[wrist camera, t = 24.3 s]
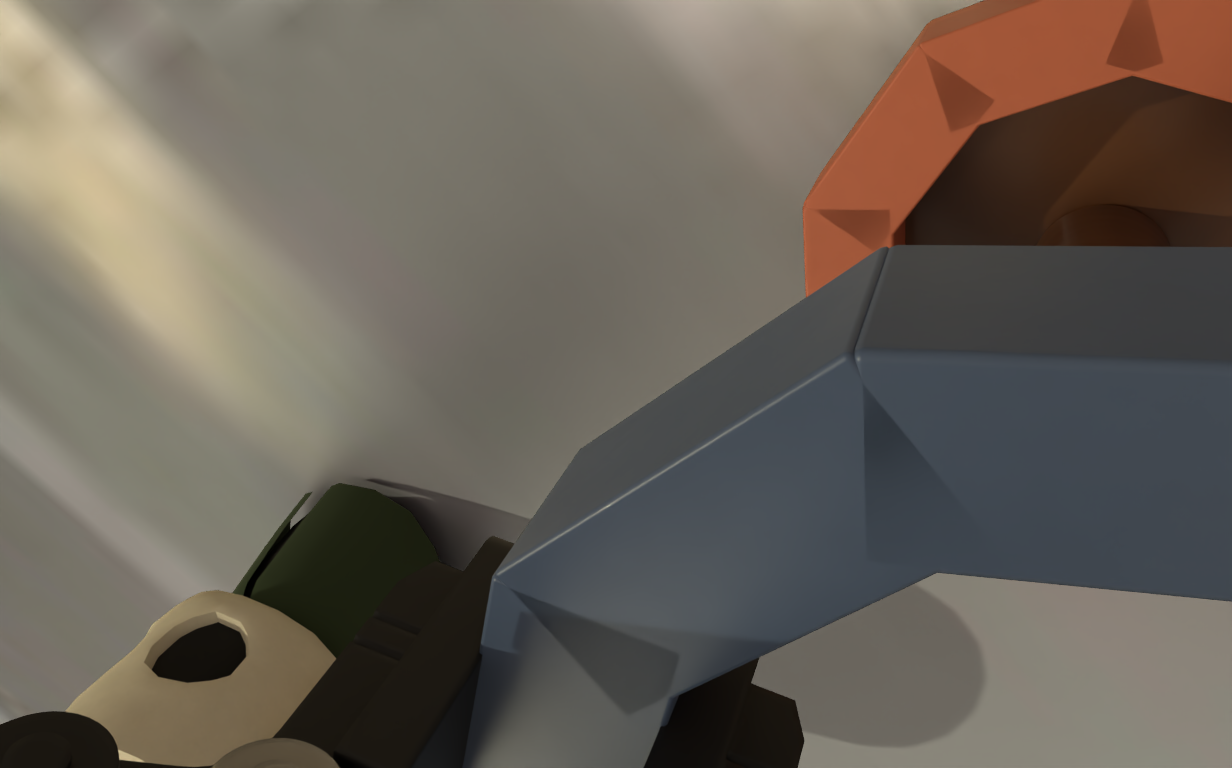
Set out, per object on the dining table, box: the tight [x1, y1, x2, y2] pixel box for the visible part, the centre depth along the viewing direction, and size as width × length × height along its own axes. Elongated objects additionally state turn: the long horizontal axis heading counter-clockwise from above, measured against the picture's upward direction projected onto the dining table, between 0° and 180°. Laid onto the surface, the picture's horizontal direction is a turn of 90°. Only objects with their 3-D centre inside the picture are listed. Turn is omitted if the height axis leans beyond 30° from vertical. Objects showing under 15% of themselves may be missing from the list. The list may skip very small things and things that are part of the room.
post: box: [905, 76, 1232, 247], centre depth 23 cm, size 9×9×10 cm
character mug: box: [65, 483, 439, 767], centre depth 35 cm, size 11×7×13 cm, turn 118°
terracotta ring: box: [803, 0, 1232, 297], centre depth 25 cm, size 13×14×2 cm
